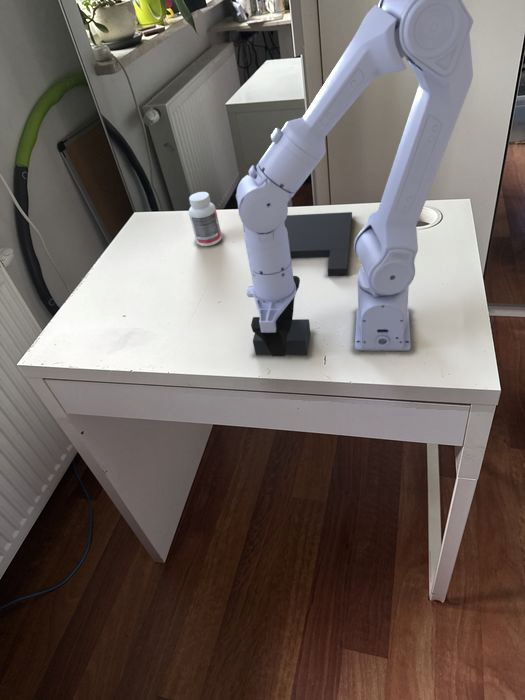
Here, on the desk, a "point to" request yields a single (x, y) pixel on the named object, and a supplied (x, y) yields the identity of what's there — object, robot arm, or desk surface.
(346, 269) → the big pad
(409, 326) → the robot arm
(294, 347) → the small pad
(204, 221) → the pill bottle
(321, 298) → the desk surface
